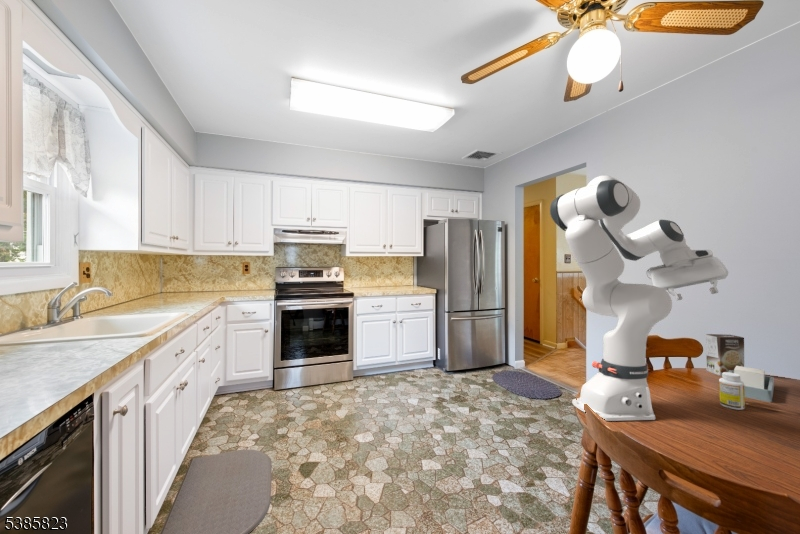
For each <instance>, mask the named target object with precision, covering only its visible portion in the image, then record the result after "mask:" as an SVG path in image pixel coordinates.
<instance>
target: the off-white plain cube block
mask: <svg viewBox="0 0 800 534" xmlns="http://www.w3.org/2000/svg"><path fill="white" fill-rule="evenodd" d="M765 372H766V371H765V369H760V368H754V367H747V366H744V367H742V366H736V367H735V369H734V373H735V374H739V375H740V378H741V379H740V381H742V382H743V383H744V386H749V387H754V388H760V389H765V376H766V373H765Z"/></svg>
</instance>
